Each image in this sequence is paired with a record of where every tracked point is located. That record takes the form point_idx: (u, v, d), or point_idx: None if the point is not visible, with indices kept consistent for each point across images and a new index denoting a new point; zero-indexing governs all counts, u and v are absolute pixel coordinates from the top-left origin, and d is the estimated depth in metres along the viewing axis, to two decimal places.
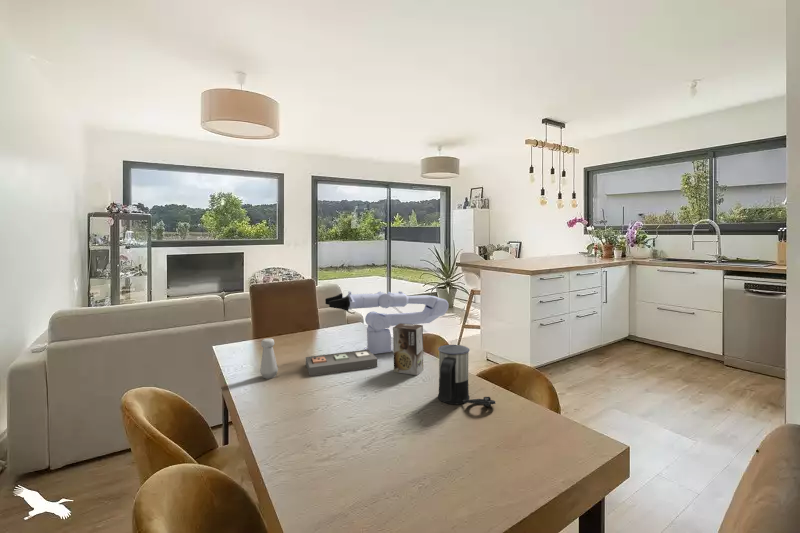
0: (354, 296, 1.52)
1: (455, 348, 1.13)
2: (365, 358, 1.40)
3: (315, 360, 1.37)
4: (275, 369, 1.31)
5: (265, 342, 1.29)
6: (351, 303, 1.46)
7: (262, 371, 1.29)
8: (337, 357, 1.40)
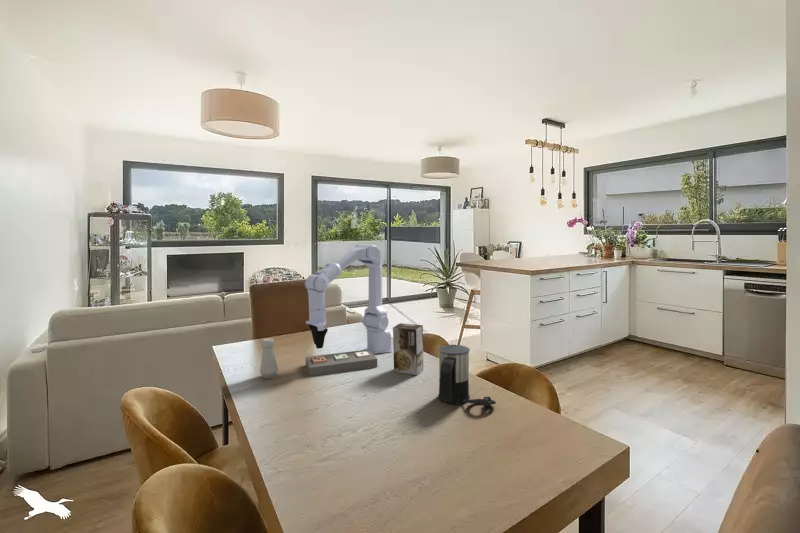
0: (311, 319, 1.35)
1: (456, 348, 1.13)
2: (365, 358, 1.40)
3: (315, 360, 1.37)
4: (275, 369, 1.31)
5: (265, 342, 1.29)
6: (319, 329, 1.30)
7: (262, 371, 1.29)
8: (337, 357, 1.40)
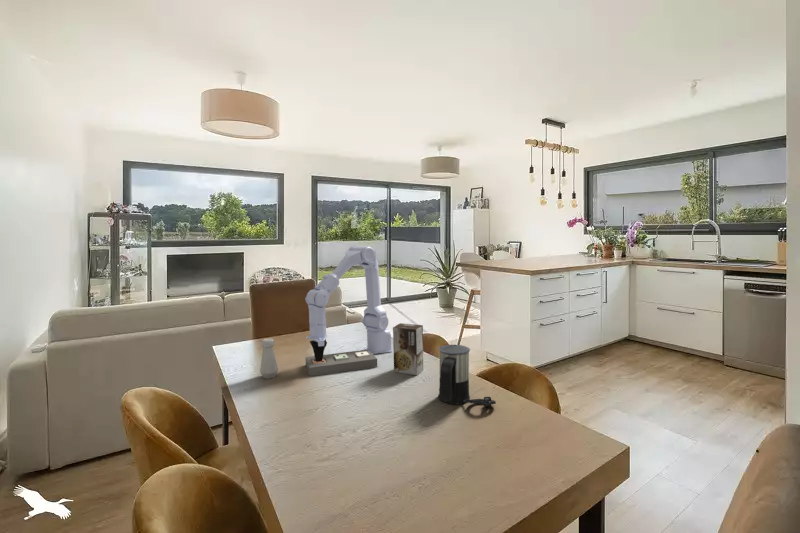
0: (312, 334, 1.35)
1: (456, 348, 1.13)
2: (365, 358, 1.40)
3: (315, 362, 1.37)
4: (275, 369, 1.31)
5: (265, 342, 1.29)
6: (320, 345, 1.31)
7: (262, 371, 1.29)
8: (337, 357, 1.40)
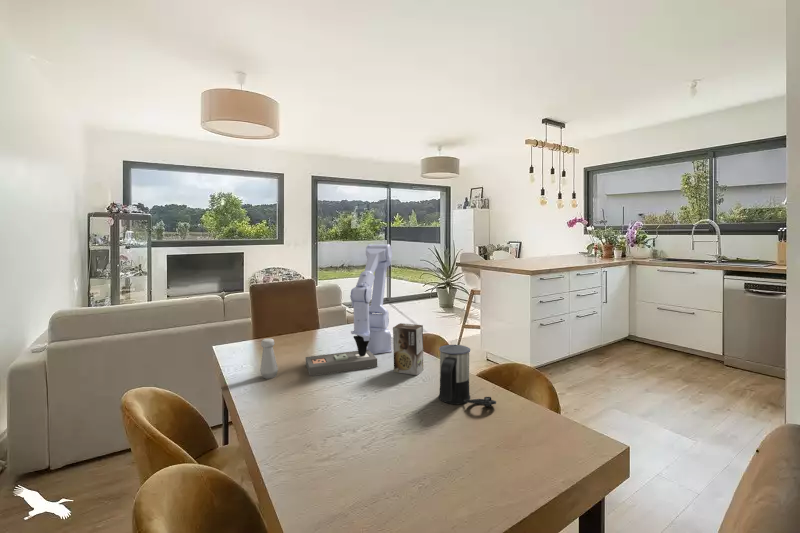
0: (356, 329, 1.41)
1: (456, 348, 1.13)
2: (365, 358, 1.40)
3: (315, 362, 1.37)
4: (275, 369, 1.31)
5: (265, 342, 1.29)
6: (365, 339, 1.36)
7: (262, 371, 1.29)
8: (337, 357, 1.40)
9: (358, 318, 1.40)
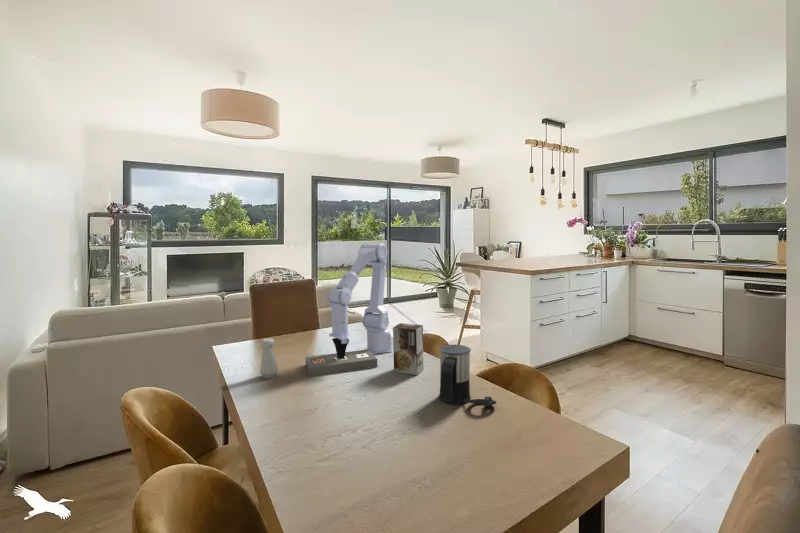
0: (335, 331, 1.38)
1: (457, 348, 1.13)
2: (365, 358, 1.40)
3: (315, 362, 1.37)
4: (275, 369, 1.31)
5: (265, 342, 1.29)
6: (343, 342, 1.34)
7: (262, 371, 1.29)
8: (337, 359, 1.40)
9: (334, 320, 1.38)
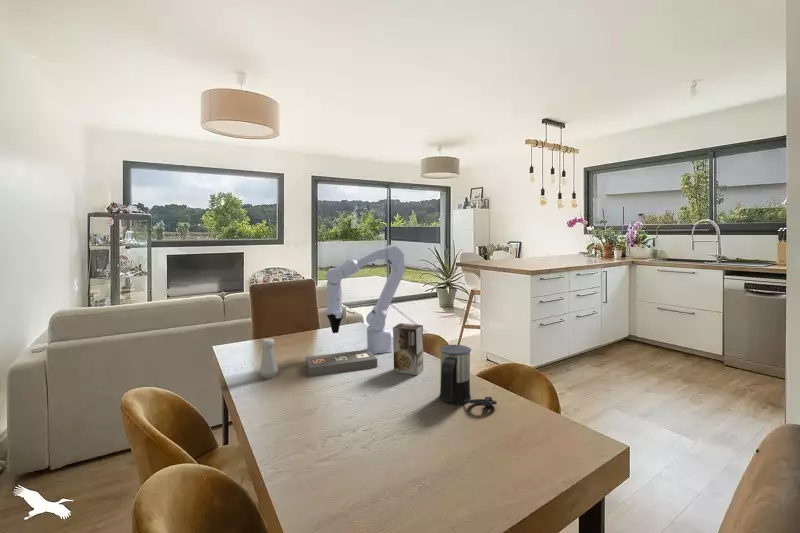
0: (329, 308, 1.51)
1: (457, 348, 1.13)
2: (365, 358, 1.40)
3: (315, 362, 1.37)
4: (275, 369, 1.31)
5: (265, 342, 1.29)
6: (337, 317, 1.46)
7: (262, 371, 1.29)
8: (337, 359, 1.40)
9: (327, 297, 1.52)
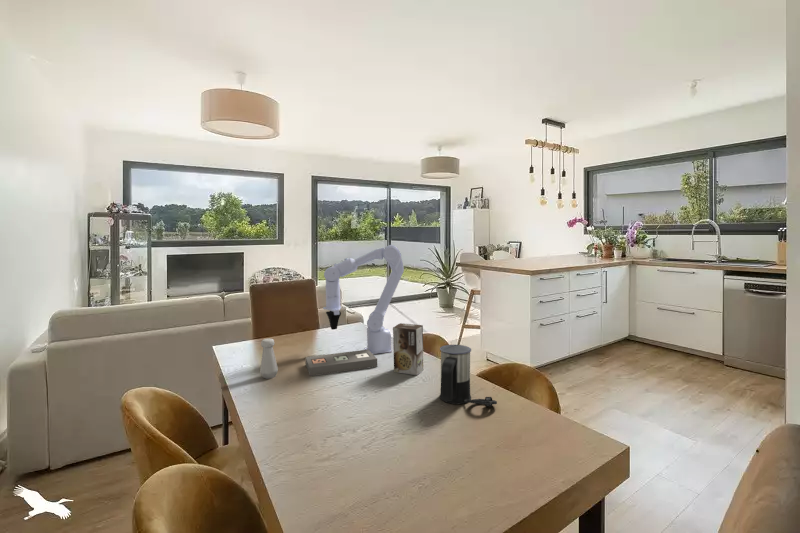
0: (328, 305, 1.54)
1: (457, 348, 1.13)
2: (365, 358, 1.40)
3: (315, 362, 1.37)
4: (275, 369, 1.31)
5: (265, 342, 1.29)
6: (335, 314, 1.50)
7: (262, 371, 1.29)
8: (337, 359, 1.40)
9: None
